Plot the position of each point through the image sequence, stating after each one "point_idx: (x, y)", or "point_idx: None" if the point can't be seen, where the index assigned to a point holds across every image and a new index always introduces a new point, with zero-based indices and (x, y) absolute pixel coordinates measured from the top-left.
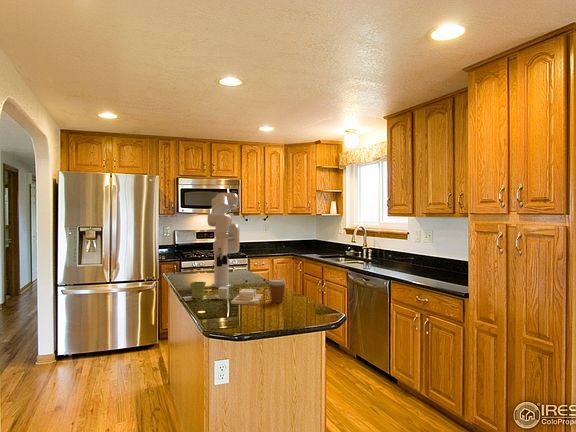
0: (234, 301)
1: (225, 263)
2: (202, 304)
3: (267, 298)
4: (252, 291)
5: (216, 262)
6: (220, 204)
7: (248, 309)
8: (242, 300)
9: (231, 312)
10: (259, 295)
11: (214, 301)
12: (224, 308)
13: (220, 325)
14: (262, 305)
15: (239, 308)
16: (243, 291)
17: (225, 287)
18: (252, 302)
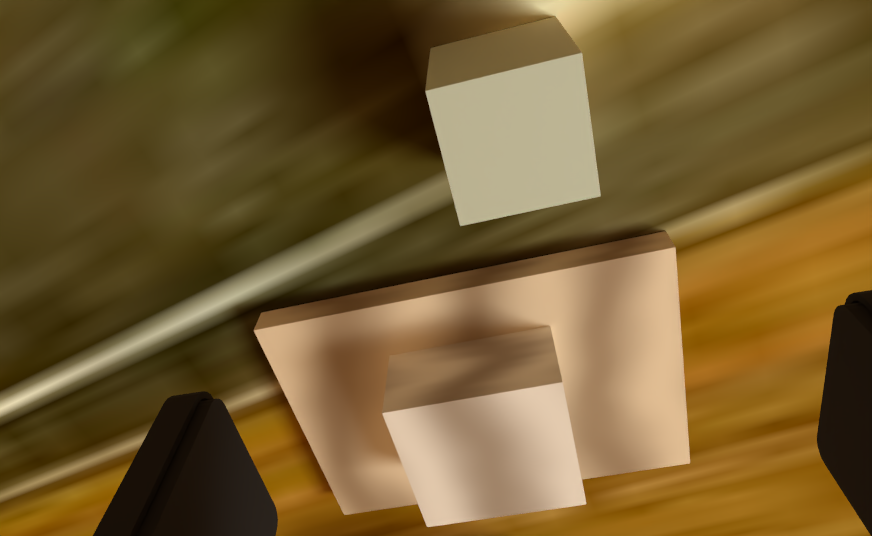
0: (267, 358)
1: (840, 438)
2: (44, 24)
3: (625, 490)
4: (462, 511)
5: (106, 511)
6: None
7: None
8: (339, 407)
9: (3, 433)
10: (629, 454)
11: (272, 83)
12: (69, 334)
13: None
14: (347, 531)
15: None
16: (422, 443)
17: (560, 158)
18: (332, 485)
